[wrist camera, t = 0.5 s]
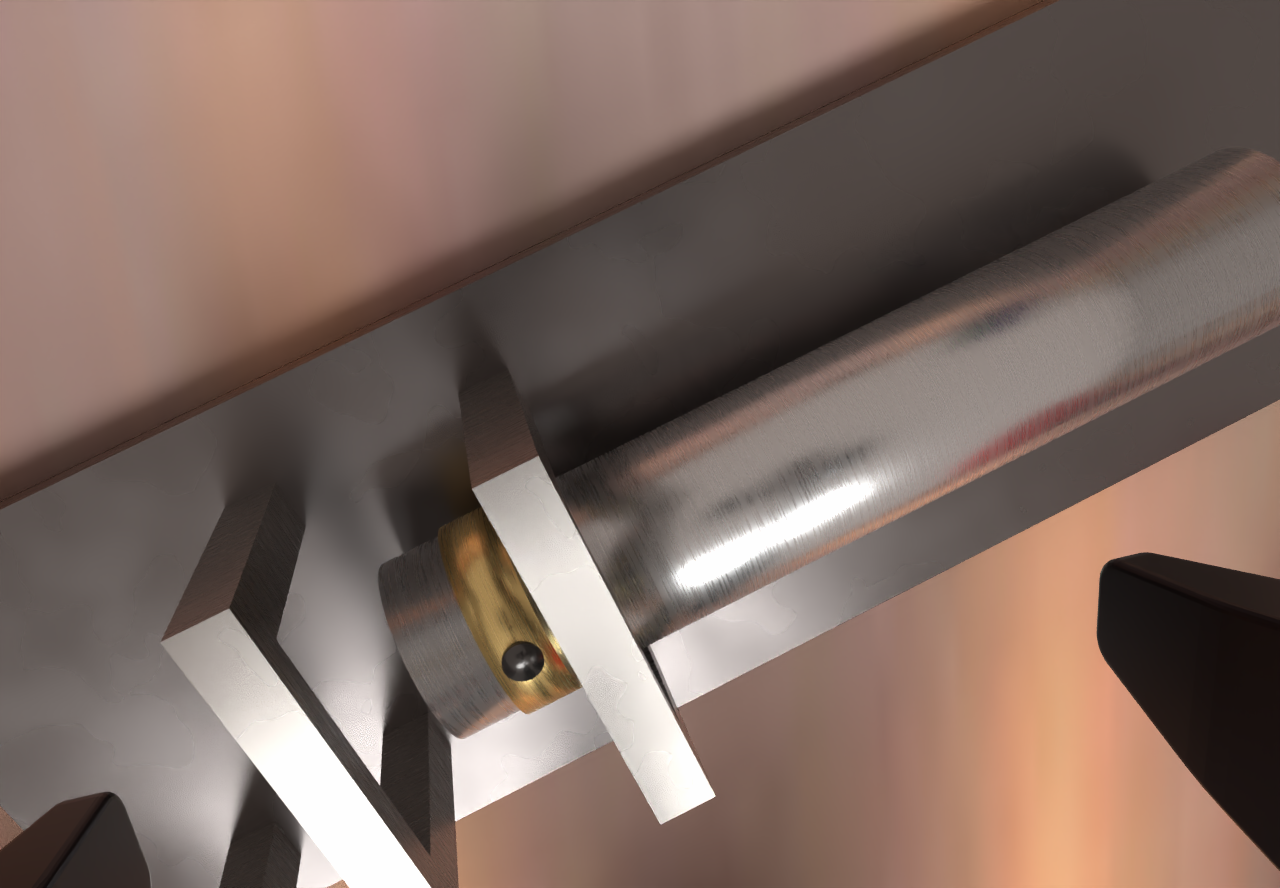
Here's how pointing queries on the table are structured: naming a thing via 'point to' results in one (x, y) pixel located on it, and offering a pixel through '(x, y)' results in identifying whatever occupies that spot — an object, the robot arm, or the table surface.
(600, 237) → the metal cylinder assembly
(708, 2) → the table surface
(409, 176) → the table surface
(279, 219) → the table surface
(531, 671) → the shiny metal cylinder
